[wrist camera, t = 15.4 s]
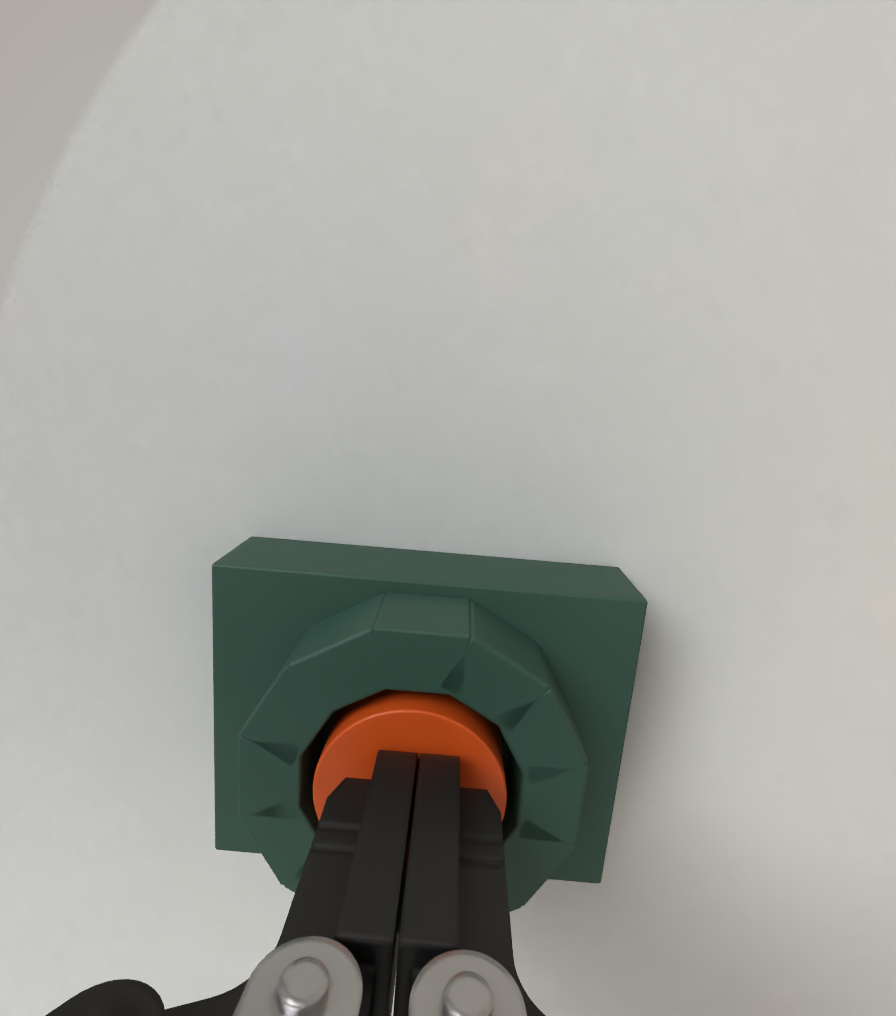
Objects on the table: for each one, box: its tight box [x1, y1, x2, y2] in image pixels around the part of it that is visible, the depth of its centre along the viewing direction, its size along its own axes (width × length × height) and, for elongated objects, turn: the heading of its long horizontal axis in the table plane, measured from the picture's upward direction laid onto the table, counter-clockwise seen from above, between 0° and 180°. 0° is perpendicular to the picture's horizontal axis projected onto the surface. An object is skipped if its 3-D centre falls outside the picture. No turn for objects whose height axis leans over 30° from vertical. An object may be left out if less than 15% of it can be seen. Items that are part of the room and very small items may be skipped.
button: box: [313, 689, 507, 821], centre depth 11 cm, size 4×4×2 cm
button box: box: [212, 537, 647, 912], centre depth 12 cm, size 9×7×4 cm
